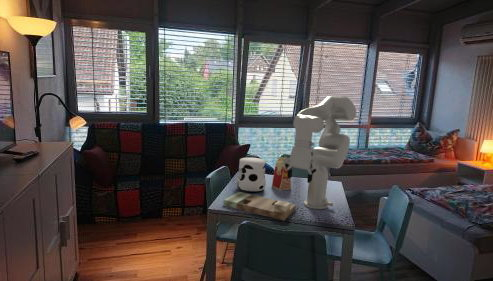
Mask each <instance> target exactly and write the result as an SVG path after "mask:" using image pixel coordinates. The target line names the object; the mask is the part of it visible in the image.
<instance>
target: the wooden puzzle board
mask: <svg viewBox="0 0 493 281" xmlns="http://www.w3.org/2000/svg"><path fill="white" fill-rule="evenodd" d="M277 201H278V200H276V199H272V198H269V197H268V198H267V197H263V196H259V195H255V194H250V193H247V192H243V191H242V192H241V191H238V192H235V193H234V194H232V195H230V196H228V197H227V198H225V199H223V206H224V207H229V208H233V209H237V210H241V211H244V212H249V213H252V214H256V215H259V216H264V217H269V218H272V219H276V220H281V221H286V220H287V219H288V218H289V217H290V216H291V215H292V214H293V213H294V212H295V211H296V208H297V207H296V206H297V205H296V204H294V203H290V210H289V211H288V212H287V213H286V214H284V213H280V212H276V211H274V204H275V203H276V202H277Z"/></svg>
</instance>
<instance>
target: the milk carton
mask: <svg viewBox="0 0 493 281" xmlns="http://www.w3.org/2000/svg"><path fill="white" fill-rule="evenodd" d="M287 158H288V157H287V156H284V157H281V156H278V157H277V160H276V162H275V167H274V170H273V178H272V184H271V187H272V188H273V189H276V190H278V191H285V190H291V189H292V178H289V179H288V176H287V173H288V170H287V168H286V166H285V164H284V161H283V160H284V159H287ZM287 162H288V164H289V166H290V160H289V161H287Z"/></svg>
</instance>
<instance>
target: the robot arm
mask: <svg viewBox="0 0 493 281" xmlns="http://www.w3.org/2000/svg"><path fill="white" fill-rule="evenodd" d="M356 115H357V109H356V106H355V104H354V103H353V101H352V100H351V99H350V98H349V97H347V96H340V95H339V96H338V95H337V96H336V95H335V96H334V95H329V96H327V97H324V99H323V100H322V101H320V103H318V104H317V105H314V106H311V107H307V108H305V109H302V110H300V111H299V112H298V113H297V114H296V115H295V117H294V119H293V123H292V124H293V128H294V129H295V135H294V144H293V146H292V148H291V152H290V156H289V157H287V158H286V159H284V160H283V161H284V164H285V166H286V168H287V170H288V173H287V176H288V179H289V178H291V179H292V178H293V168H294V169H295V168H296V169H301V170H306V171H307V172H308V174H307V179H306V180H307V183H308V184H307V185H308V187H307V195H306V196H307V198H306V199H304V200H303V205H304V206H305V207H307V208H309V209H312V210H313V209H314V210H324V209H327V208H328V207H329V206H330V207H333V206H334V202H333V201H331V200H328V198H327V197H326V196H327V188H328V178H329V174H328V171H327V170H328V169H327V168H332V169H340V168H341V167H342V166H343V164H344V161H345V160H346V157H347V154H348V151H349V150H350V145H351V144H350V143H351V140H350V137H349V136H348V135H346V134H342V133H341V129H342V128H341V127H340V124H339V122H337V120H340V121H347V122H349V121H350V122H351V121H353V120H355V118H356ZM320 132H322V133H321V135H320V138H319V140H318V146H315V142H313V140H312V139H313V133H314V134H316V133H320ZM314 146H315V147H314ZM287 161H289V163H290V166H289V164H288V162H287Z"/></svg>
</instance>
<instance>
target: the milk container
mask: <svg viewBox="0 0 493 281" xmlns="http://www.w3.org/2000/svg"><path fill="white" fill-rule="evenodd" d="M238 162H239V163H238V164H239V165H238V173H237V174H238V175H237V177H236V187H237V189H238V190H240V191H242V192H245V193H259V192H262V191H264V190H265V188H266V182H267V181H266V166H267V165H266V160H265V159H263V158H262V159H261V158H260V157H259V158H257V157H242V158H239V161H238Z"/></svg>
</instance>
